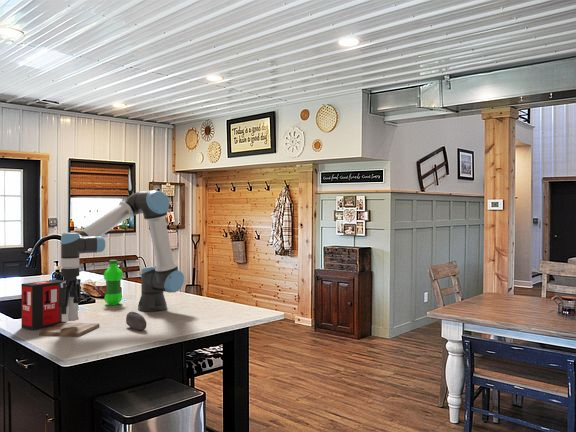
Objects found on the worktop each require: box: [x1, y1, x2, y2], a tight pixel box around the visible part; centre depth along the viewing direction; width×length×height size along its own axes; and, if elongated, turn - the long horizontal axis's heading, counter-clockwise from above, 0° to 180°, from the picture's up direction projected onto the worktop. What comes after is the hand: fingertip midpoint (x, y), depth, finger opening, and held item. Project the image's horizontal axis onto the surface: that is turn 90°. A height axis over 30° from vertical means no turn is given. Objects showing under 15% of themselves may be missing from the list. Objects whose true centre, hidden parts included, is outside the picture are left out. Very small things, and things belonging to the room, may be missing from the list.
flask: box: [67, 296, 80, 322], centre depth 222 cm, size 7×7×10 cm
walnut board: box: [38, 322, 100, 337], centre depth 222 cm, size 18×18×2 cm
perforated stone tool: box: [125, 311, 147, 331], centre depth 226 cm, size 15×5×7 cm, turn 41°
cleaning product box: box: [20, 279, 68, 331], centre depth 231 cm, size 16×9×20 cm, turn 148°
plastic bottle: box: [103, 259, 124, 306], centre depth 285 cm, size 10×10×25 cm
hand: (69, 319), depth 222 cm, fingers closed on flask, 7 cm apart
